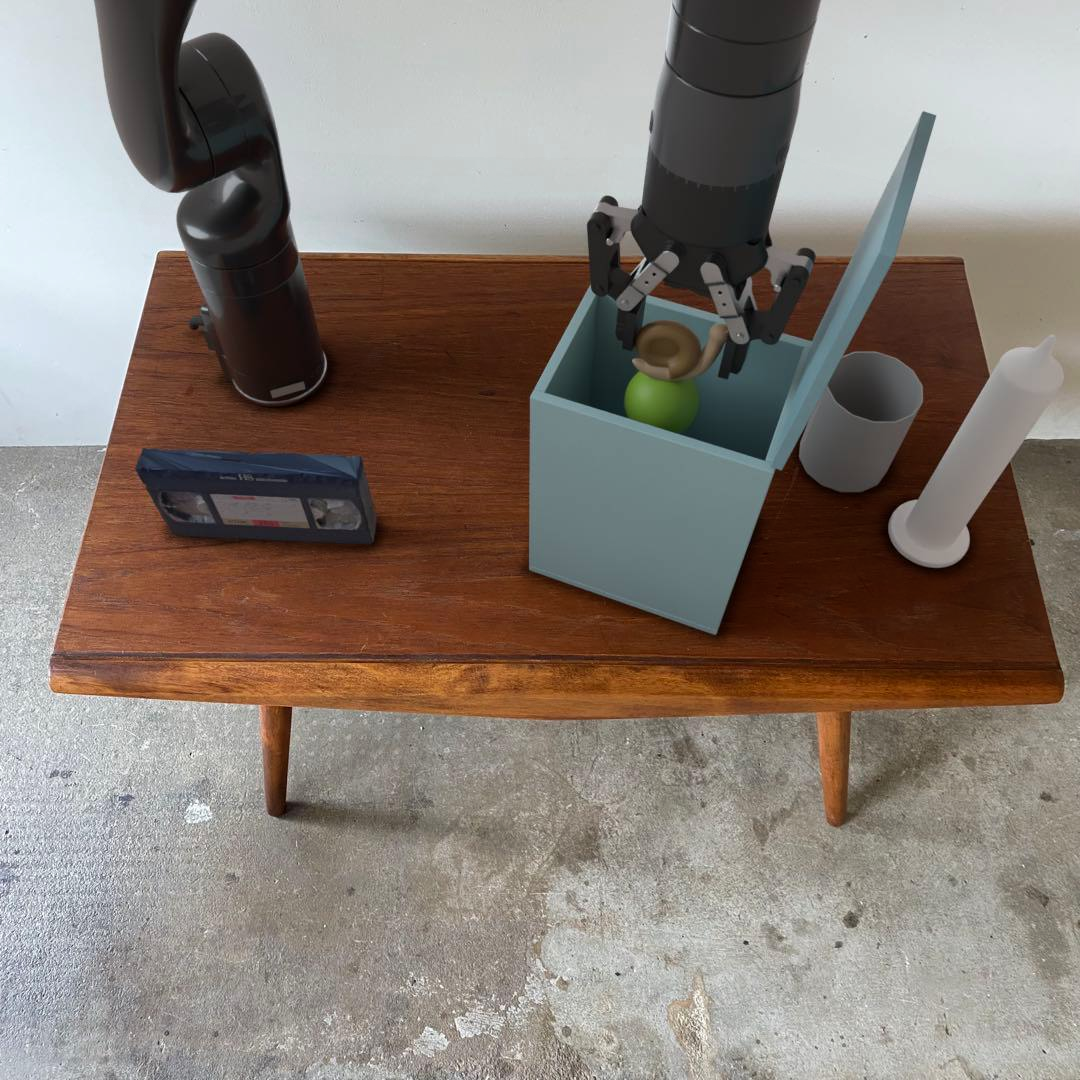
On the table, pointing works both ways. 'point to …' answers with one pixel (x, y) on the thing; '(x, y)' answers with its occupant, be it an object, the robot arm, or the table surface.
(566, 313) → the table surface
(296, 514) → the vhs cassette tape
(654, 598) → the chest
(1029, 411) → the candle
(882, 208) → the lid
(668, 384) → the snail figurine
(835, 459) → the cup
